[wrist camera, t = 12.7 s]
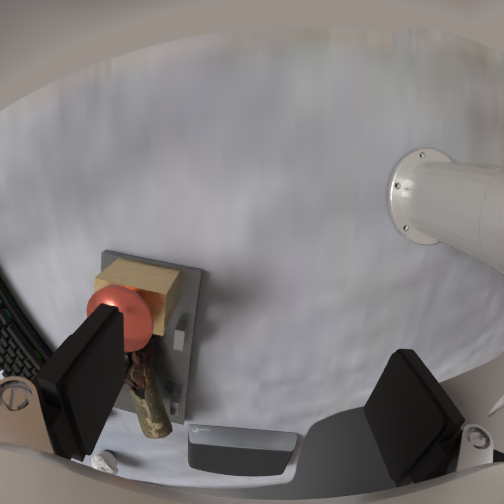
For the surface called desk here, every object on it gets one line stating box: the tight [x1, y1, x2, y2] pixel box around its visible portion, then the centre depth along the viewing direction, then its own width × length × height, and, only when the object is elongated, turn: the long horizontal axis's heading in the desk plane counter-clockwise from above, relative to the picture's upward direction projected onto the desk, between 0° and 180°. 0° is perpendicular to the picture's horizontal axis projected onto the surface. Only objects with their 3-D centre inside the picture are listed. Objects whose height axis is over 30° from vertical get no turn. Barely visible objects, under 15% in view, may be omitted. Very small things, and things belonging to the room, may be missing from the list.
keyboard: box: [0, 277, 53, 381], centre depth 37 cm, size 42×16×5 cm, turn 31°
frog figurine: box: [92, 451, 118, 475], centre depth 45 cm, size 6×7×7 cm
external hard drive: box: [188, 424, 298, 476], centre depth 45 cm, size 13×19×4 cm
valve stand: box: [87, 250, 202, 425], centre depth 34 cm, size 13×29×11 cm, turn 169°
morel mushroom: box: [124, 340, 173, 439], centre depth 35 cm, size 18×7×6 cm, turn 3°
